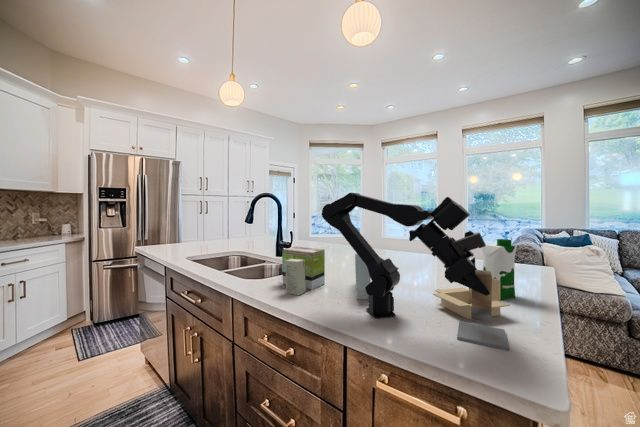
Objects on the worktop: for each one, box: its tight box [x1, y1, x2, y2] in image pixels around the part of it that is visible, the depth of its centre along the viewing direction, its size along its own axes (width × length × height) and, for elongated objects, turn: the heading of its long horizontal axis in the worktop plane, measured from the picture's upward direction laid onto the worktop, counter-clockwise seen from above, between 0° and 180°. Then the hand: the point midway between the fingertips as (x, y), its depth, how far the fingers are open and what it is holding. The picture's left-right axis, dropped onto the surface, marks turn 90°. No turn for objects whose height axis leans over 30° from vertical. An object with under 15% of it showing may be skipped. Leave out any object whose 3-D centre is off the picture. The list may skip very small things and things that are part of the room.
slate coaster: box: [456, 320, 510, 351], centre depth 64 cm, size 10×10×1 cm
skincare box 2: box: [354, 252, 372, 301], centre depth 100 cm, size 21×5×16 cm, turn 172°
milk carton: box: [480, 238, 518, 301], centre depth 93 cm, size 9×9×20 cm
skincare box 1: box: [285, 259, 307, 296], centre depth 98 cm, size 6×4×12 cm
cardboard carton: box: [432, 278, 511, 320], centre depth 80 cm, size 14×17×10 cm
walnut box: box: [470, 269, 492, 324], centre depth 64 cm, size 4×5×11 cm
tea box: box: [281, 246, 326, 291], centre depth 109 cm, size 15×10×15 cm, turn 58°
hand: (487, 291), depth 63 cm, fingers closed on walnut box, 5 cm apart
